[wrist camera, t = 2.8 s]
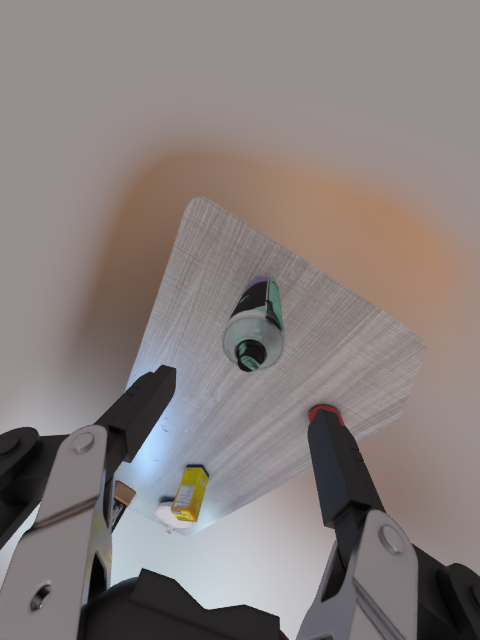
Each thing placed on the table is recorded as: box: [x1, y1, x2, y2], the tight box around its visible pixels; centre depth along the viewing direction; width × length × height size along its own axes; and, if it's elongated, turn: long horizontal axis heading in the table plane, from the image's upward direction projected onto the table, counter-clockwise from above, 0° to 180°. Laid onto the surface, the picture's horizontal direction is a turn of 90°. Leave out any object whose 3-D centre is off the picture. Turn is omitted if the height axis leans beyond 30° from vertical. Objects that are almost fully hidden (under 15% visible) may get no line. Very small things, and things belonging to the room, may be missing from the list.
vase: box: [155, 501, 193, 533], centre depth 69 cm, size 16×16×7 cm
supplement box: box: [170, 465, 209, 522], centre depth 53 cm, size 6×6×11 cm
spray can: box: [222, 276, 285, 372], centre depth 22 cm, size 6×6×20 cm
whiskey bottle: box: [112, 481, 136, 532], centre depth 60 cm, size 10×10×32 cm
